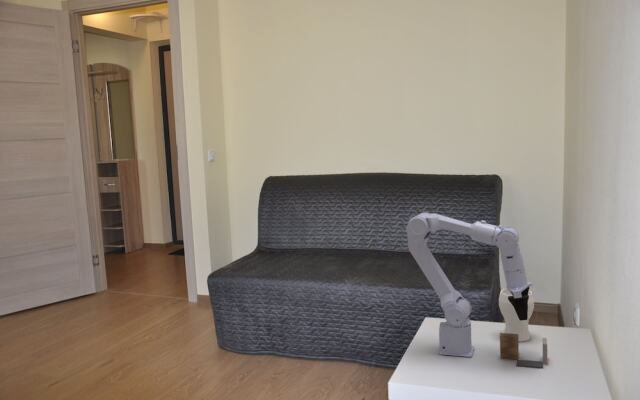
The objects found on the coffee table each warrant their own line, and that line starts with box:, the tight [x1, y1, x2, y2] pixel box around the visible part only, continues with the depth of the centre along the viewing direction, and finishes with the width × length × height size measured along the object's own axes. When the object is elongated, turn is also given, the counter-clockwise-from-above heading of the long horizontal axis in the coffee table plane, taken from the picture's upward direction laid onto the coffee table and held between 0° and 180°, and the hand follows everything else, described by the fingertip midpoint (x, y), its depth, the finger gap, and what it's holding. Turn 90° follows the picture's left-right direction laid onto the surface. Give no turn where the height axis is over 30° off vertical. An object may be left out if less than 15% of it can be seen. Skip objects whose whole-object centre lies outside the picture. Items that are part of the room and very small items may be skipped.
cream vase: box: [498, 288, 535, 342], centre depth 174 cm, size 11×11×15 cm
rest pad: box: [515, 359, 544, 369], centre depth 154 cm, size 7×4×1 cm, turn 69°
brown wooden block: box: [499, 332, 520, 361], centre depth 159 cm, size 5×2×7 cm, turn 69°
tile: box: [541, 337, 549, 366], centre depth 156 cm, size 1×5×6 cm, turn 159°
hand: (523, 315), depth 157 cm, fingers open, 7 cm apart
